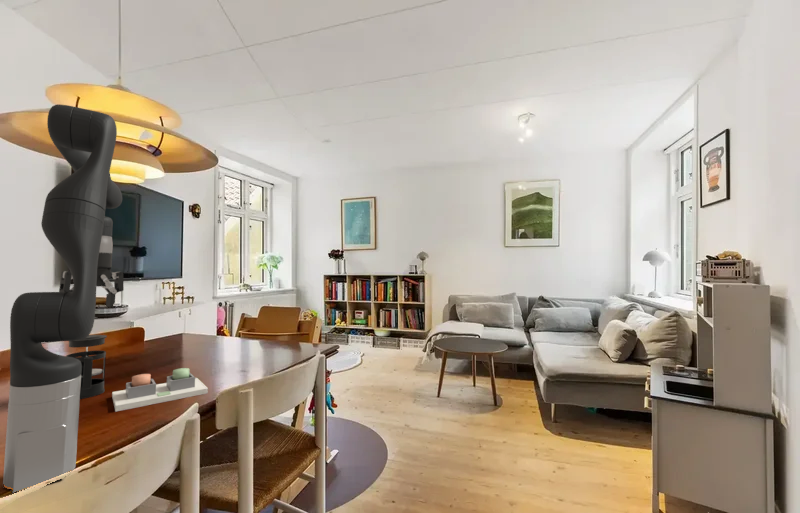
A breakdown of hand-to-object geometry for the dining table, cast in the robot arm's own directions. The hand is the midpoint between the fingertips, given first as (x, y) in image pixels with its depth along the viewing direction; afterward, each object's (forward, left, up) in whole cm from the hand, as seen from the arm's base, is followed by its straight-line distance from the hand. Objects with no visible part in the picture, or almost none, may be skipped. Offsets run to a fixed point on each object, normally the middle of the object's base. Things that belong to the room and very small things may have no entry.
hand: (92, 307), depth 100 cm
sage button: (-7, -22, -23) cm, 32 cm away
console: (-7, -17, -27) cm, 32 cm away
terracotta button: (-7, -11, -23) cm, 27 cm away
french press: (+8, 0, -27) cm, 28 cm away
